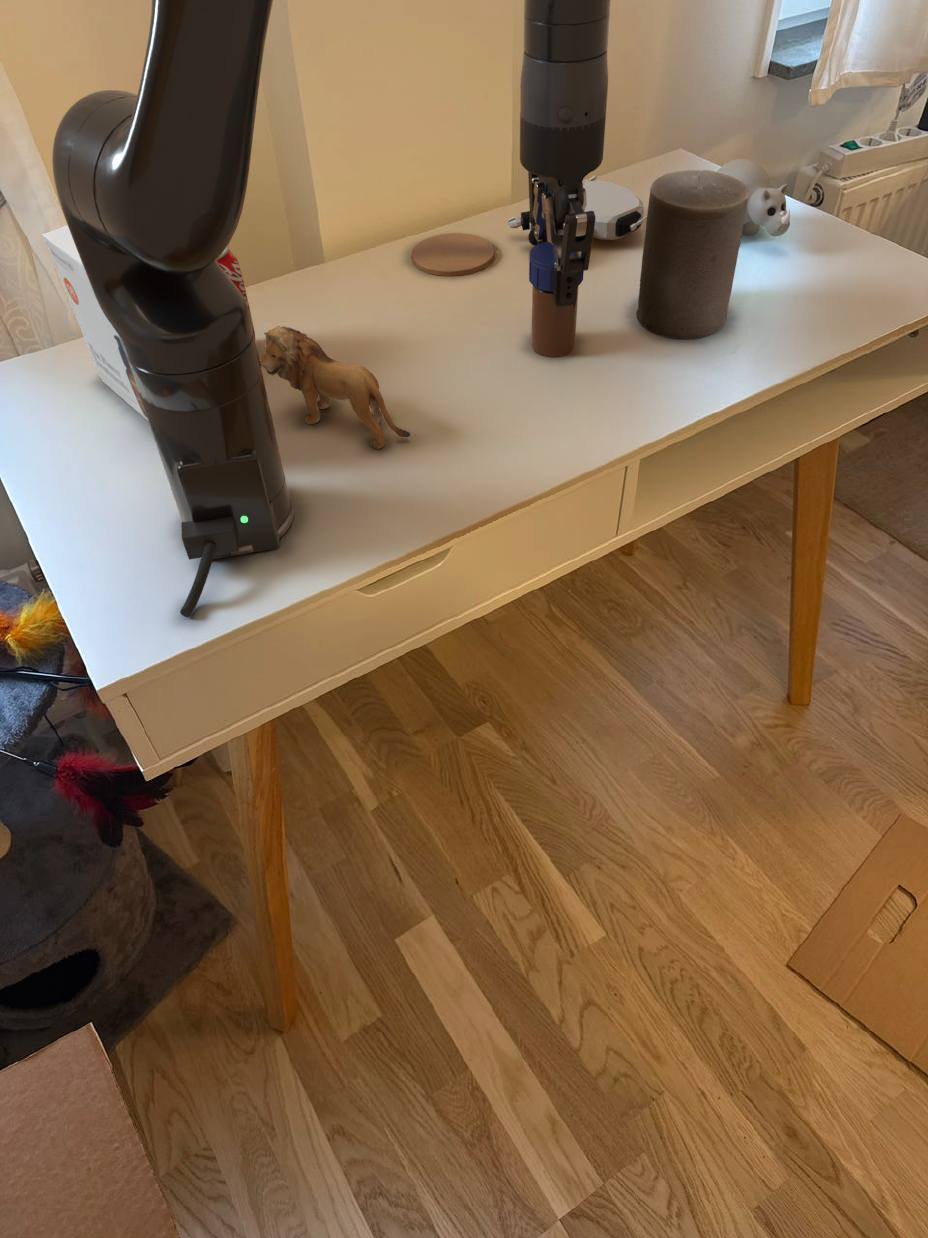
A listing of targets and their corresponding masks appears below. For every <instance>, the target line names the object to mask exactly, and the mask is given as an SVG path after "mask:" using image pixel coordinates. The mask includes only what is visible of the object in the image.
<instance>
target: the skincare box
mask: <svg viewBox="0 0 928 1238" xmlns="http://www.w3.org/2000/svg"><path fill="white" fill-rule="evenodd" d="M42 237H43V239H44V241H45V245H46V246H47V249H48V251H49V255H50V256H51V260H52V261H53V265H54V266H55V269H56V271H57V274H58V276H59V279H60V282H61V284H62V286H63V289H64V291H65V294H66V296H67V298H68V301H69V304H70V306H71V308H72V311H73V313H74V316H75V319H76V321H77V323H78V327H79V328H80V331H81V333H82V336H83V338H84V341H85V343H86V345H87V348H88V351H89V353H90V355H91V358H92V361H93V363H94V366H95V368H96V371H97V373H98V375H99V378H100V380H101V382H103V383H104V384H105V385H106V386H107V387H108V388H110V390H111V391H113V392H114V393H115V394H116V395H118V396H119V397H120V398H121V399H122V400H123V401H125V403H127V404H128V405H129V406H130V408H132V409H133V410H135V412H137V413H138V414H139V415H140V416H142V417H143V418H144V419H145V420H146V421H147V422H148V419H147V416H146V413H145V410H144V407H143V404H142V401H141V398H140V395H139V391H138V388H137V385H136V382H135V379H134V376H133V373H132V371H131V368H130V365H129V362H128V359H127V355H126V353H125V350H124V347H123V344H122V342H121V339H120V337H119V336H118V334H117V332H116V331H115V329H114V328H113V326H112V325H111V323H110V322H109V321H108V319H107V318H106V316H105V314H104V313H103V311H102V309H101V307H100V305H99V303H98V301H97V299H96V297H95V294H94V292H93V289H92V287H91V284H90V282H89V279H88V276H87V274H86V271H85V269H84V266H83V264H82V261H81V259H80V256H79V253H78V251H77V248H76V246H75V243H74V240H73V238H72V235H71V233H70V230H69V227H68V225H67V224H66V225H63V226H61V227H58V228H56V229H53V230H50V231H48V232H47V231H46V232H45V233H42Z"/></svg>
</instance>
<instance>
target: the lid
mask: <svg viewBox="0 0 928 1238" xmlns="http://www.w3.org/2000/svg"><path fill="white" fill-rule="evenodd" d="M561 250H562V246H561ZM570 256H574V255H573V253H571V255H570ZM584 272H585V271H578V286H579V287H580V285H581V284H582V282H583V281H584V274H585V273H584ZM528 282H529V283H530V284H531V285H532V287H533V286H534V287H536V288H538V289H541V290H544V291H550V292H554V254H553V246H552V245H550V244H549V243H548V241H547V242H543V243H540V244H537V245H535V246H534V245H533V246H532V248H531V249H530V250H529V257H528Z"/></svg>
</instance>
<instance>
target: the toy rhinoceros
mask: <svg viewBox="0 0 928 1238" xmlns="http://www.w3.org/2000/svg"><path fill="white" fill-rule="evenodd" d="M716 172H718V173H721V174H726V175H729V176H732V177H734V178H736V179H738V180H740V181H742V182H743V183H744V184H745V185H747V186H748V190H749V191H750V193H751V194H750V196H749V198H748V202H747V208H746V213H745V218H744V223H743V229H742V236H743V235H744V236H753V235H756V234H758V233H759V231H760V229H761V227H763V228H764V230H765V231H766V233H767V234H768V235H769V236H771V237H781V236H783V235H784V234H785V233H786V232H787V231H788V230H789V228H790V225H791V209H790V208H788V209H787V199H786V193H787V190H788V186H789V185H788V183H784V184H782V185H781V186H779V187H778V188H775V187H771V186H772V185H771V180H770V177H769V174H768V172H767V170H766V169H765V168H764V167H763V166H762V165H761V164H760V163H758V161H755V160H753V159H750V158H736V159H733V160H729V161H727V162H725V163H724V164H723V165H721V167H720V168H718V169H717V170H716Z"/></svg>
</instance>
